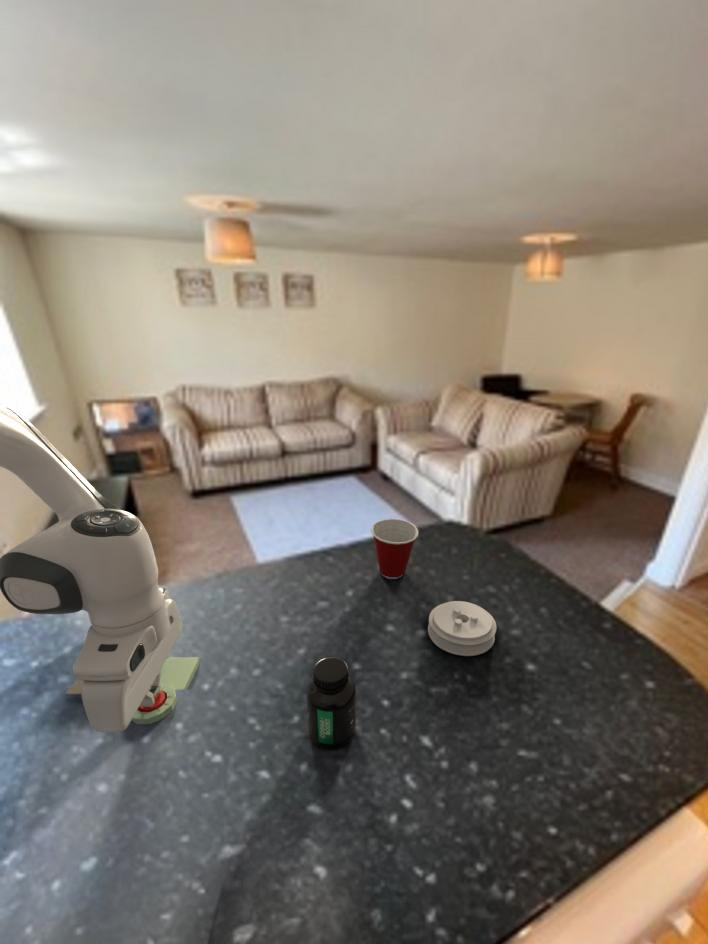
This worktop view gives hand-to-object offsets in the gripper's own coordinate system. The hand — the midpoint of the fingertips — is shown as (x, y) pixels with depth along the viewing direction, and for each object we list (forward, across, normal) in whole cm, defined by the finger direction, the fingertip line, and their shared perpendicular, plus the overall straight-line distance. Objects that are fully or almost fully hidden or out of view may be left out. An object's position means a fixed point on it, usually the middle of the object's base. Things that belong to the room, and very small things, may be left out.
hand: (152, 699), depth 66 cm
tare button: (+2, 0, 0) cm, 2 cm away
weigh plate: (0, -6, -8) cm, 10 cm away
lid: (+4, -18, +50) cm, 53 cm away
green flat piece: (+3, -4, -5) cm, 7 cm away
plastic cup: (+4, -40, +38) cm, 55 cm away
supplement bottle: (+4, +3, +27) cm, 27 cm away
